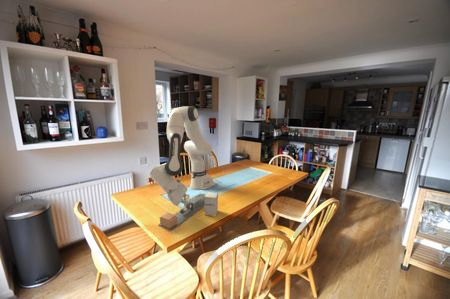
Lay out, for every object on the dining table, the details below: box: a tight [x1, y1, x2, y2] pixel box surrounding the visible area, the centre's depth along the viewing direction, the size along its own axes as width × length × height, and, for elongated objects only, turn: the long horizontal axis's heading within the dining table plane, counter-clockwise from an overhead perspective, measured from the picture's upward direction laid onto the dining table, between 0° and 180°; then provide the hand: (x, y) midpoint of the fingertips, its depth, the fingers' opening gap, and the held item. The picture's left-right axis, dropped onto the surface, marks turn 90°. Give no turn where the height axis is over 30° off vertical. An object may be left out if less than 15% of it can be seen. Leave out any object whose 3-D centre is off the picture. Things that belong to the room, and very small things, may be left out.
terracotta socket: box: [159, 212, 178, 228], centre depth 112 cm, size 6×8×5 cm
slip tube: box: [179, 194, 193, 214], centre depth 129 cm, size 21×4×10 cm, turn 150°
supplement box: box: [204, 191, 219, 217], centre depth 125 cm, size 7×7×13 cm
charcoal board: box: [158, 203, 205, 232], centre depth 125 cm, size 37×10×1 cm, turn 150°
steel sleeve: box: [189, 193, 206, 211], centre depth 133 cm, size 14×5×5 cm, turn 150°
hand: (187, 202), depth 124 cm, fingers closed on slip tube, 3 cm apart
